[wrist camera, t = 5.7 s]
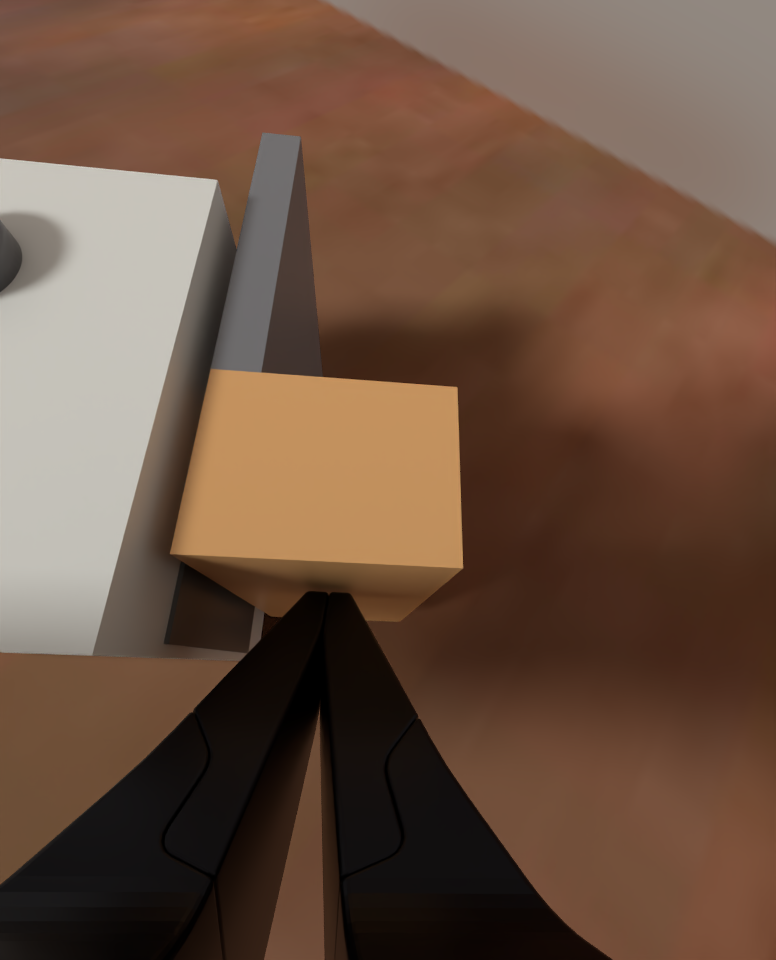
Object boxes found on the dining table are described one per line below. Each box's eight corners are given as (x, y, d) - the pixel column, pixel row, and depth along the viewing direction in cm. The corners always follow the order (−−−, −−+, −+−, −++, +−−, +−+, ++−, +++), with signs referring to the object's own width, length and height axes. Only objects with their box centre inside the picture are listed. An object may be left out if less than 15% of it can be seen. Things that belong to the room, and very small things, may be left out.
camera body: (260, 661, 14) (69, 653, 5) (27, 653, 14) (-740, 626, 4) (295, 395, 18) (231, 79, 8) (112, 382, 18) (-181, 32, 8)
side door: (400, 621, 14) (463, 567, 6) (270, 616, 14) (170, 553, 6) (404, 381, 18) (449, 153, 10) (301, 373, 17) (262, 132, 10)
